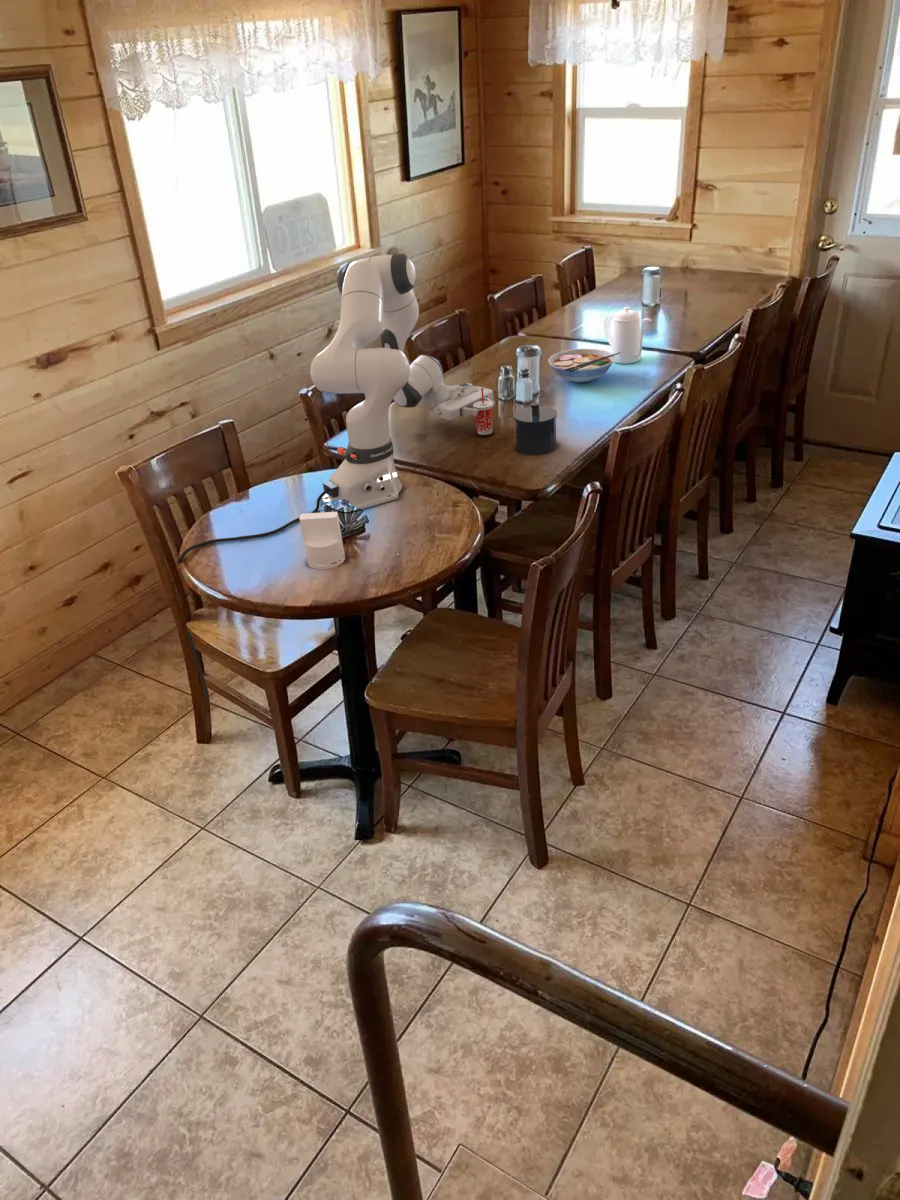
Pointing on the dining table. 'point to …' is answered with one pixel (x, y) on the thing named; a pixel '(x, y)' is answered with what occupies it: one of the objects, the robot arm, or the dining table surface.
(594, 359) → the ramen bowl
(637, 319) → the coffeepot
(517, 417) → the pot lid
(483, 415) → the beverage cup
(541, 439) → the pot
